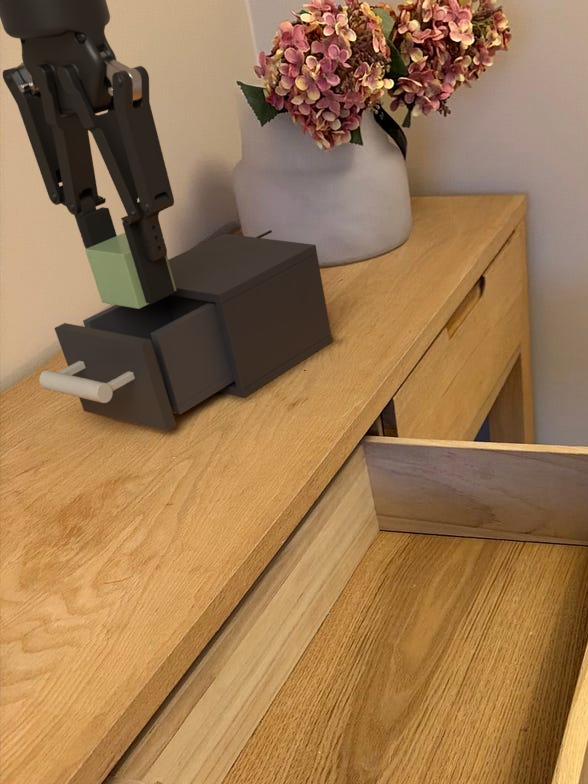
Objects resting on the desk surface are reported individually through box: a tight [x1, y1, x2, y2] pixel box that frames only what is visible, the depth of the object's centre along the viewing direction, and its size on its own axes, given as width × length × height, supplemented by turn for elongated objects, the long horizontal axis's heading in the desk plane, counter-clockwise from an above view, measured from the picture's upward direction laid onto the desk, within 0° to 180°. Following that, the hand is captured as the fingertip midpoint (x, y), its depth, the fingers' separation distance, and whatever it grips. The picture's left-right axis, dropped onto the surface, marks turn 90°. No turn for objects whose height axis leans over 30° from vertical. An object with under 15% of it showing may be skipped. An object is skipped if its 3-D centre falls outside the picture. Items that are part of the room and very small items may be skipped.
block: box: [85, 232, 176, 309], centre depth 83 cm, size 4×4×4 cm
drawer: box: [38, 295, 235, 432], centre depth 87 cm, size 17×10×8 cm, turn 150°
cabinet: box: [168, 233, 333, 399], centre depth 95 cm, size 14×12×10 cm
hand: (138, 293), depth 84 cm, fingers closed on block, 4 cm apart
